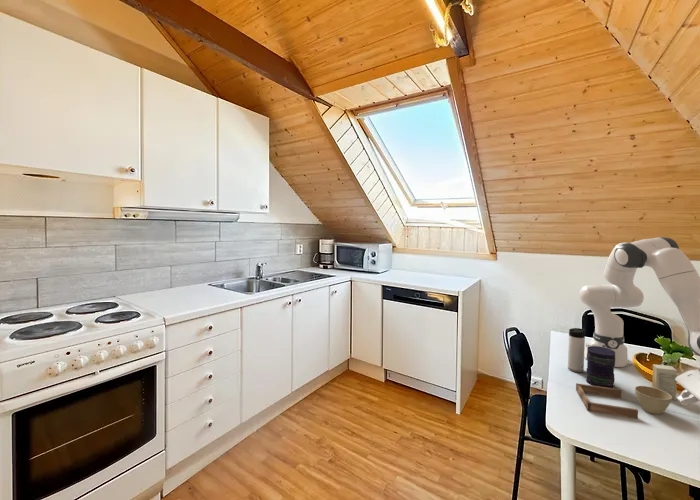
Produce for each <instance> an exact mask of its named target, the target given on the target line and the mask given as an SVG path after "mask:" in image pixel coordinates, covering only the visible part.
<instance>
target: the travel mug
mask: <svg viewBox="0 0 700 500" xmlns="http://www.w3.org/2000/svg"><path fill="white" fill-rule="evenodd" d="M586 330H587V329H585V328H579V327H573V328H569V329H568V346H567V347H568V349H567V351H568V352H567V354H568V355H567V369H568V370H569V371H571V372H573V373H584V370H585V369H584V367H585V356H584V348H586V336H585V335H586V332H587V331H586Z"/></svg>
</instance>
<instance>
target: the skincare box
mask: <svg viewBox="0 0 700 500" xmlns="http://www.w3.org/2000/svg"><path fill="white" fill-rule="evenodd" d="M677 376H678V370H677V369H676V368H675V367H673V366H672V365H666V364H652V379H651V380H652V381H651V382H652V383H651V387H653V388H657V389H660V390H662V391H665V392H667V393H668V394H670V395H671V397H672V398H671V400H673V401H674V400H675V401H676V400H677V399H676V397H677V388H678V387H677V386H678V385H677V384H678V383H677V382H676V381H675V378H676V377H677Z"/></svg>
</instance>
